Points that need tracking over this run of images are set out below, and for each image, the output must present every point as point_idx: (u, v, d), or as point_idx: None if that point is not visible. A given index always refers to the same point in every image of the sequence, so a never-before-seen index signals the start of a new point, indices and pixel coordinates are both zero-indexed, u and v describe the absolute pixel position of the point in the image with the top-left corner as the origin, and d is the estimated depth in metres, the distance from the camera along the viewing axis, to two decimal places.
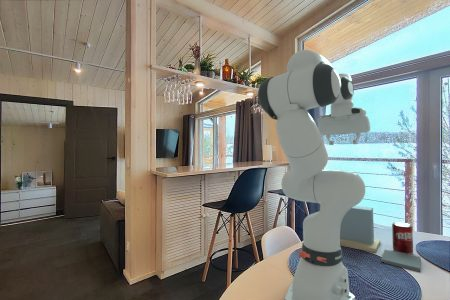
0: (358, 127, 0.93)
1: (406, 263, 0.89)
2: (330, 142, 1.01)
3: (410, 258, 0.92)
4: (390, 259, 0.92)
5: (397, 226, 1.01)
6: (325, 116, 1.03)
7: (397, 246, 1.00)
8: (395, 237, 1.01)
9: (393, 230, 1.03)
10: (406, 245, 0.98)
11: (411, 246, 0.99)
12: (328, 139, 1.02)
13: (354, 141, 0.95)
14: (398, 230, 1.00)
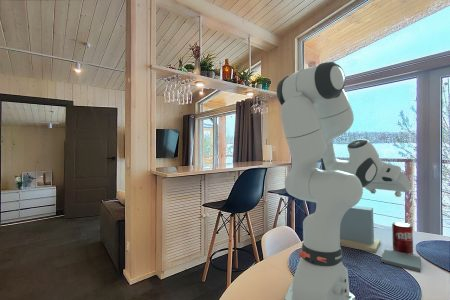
0: (396, 188, 0.88)
1: (406, 263, 0.89)
2: (371, 192, 1.00)
3: (410, 258, 0.92)
4: (390, 259, 0.92)
5: (397, 226, 1.01)
6: None
7: (397, 246, 1.00)
8: (395, 237, 1.01)
9: (393, 230, 1.03)
10: (406, 245, 0.98)
11: (411, 246, 0.99)
12: None
13: (396, 195, 0.92)
14: (398, 230, 1.00)
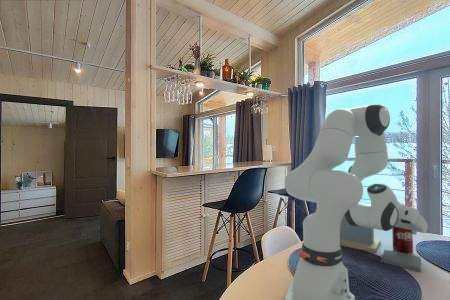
0: (414, 228, 0.94)
1: (406, 263, 0.89)
2: None
3: (410, 258, 0.92)
4: (390, 259, 0.92)
5: None
6: None
7: (397, 246, 1.00)
8: (395, 237, 1.01)
9: (393, 230, 1.03)
10: (406, 245, 0.98)
11: (411, 246, 0.99)
12: None
13: (412, 233, 0.98)
14: (398, 230, 1.00)
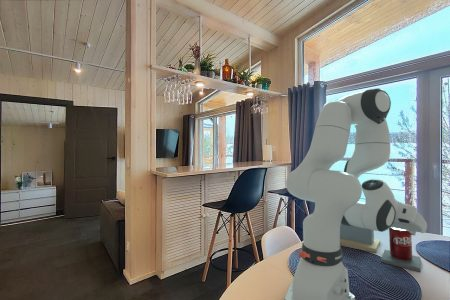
0: (412, 228, 0.85)
1: (406, 263, 0.89)
2: None
3: None
4: (390, 259, 0.92)
5: (395, 230, 0.92)
6: None
7: (395, 252, 0.91)
8: (393, 242, 0.92)
9: (390, 234, 0.94)
10: (405, 251, 0.90)
11: (410, 252, 0.90)
12: None
13: (411, 234, 0.89)
14: (396, 234, 0.91)
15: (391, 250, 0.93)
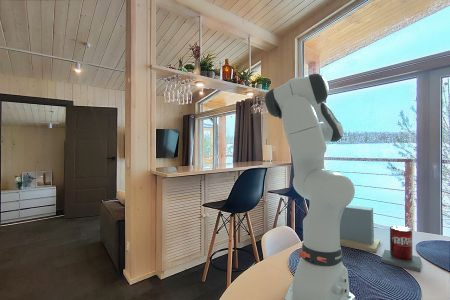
0: None
1: (406, 263, 0.89)
2: None
3: None
4: (390, 259, 0.92)
5: (394, 229, 0.92)
6: None
7: (393, 251, 0.92)
8: (392, 241, 0.93)
9: (390, 234, 0.94)
10: (403, 251, 0.90)
11: (409, 252, 0.89)
12: None
13: None
14: (394, 234, 0.92)
15: (390, 249, 0.94)
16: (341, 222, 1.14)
